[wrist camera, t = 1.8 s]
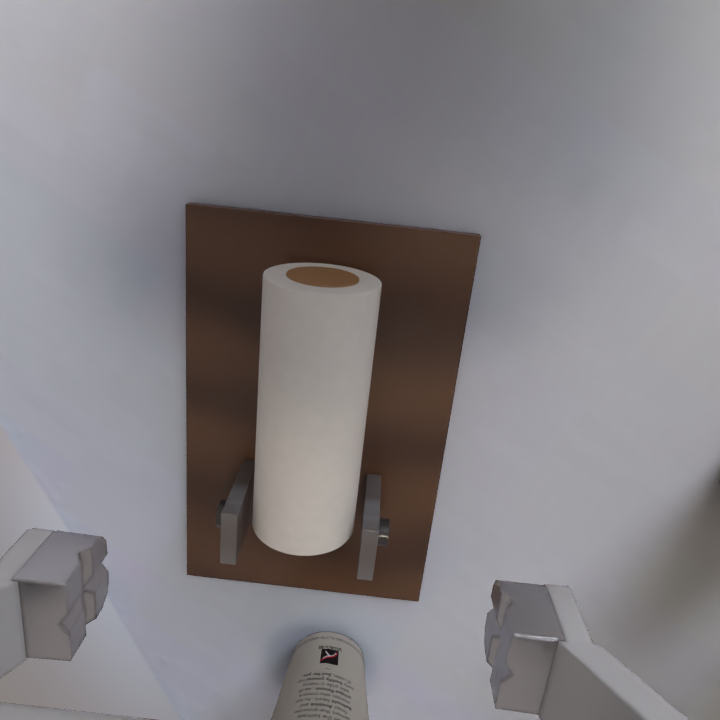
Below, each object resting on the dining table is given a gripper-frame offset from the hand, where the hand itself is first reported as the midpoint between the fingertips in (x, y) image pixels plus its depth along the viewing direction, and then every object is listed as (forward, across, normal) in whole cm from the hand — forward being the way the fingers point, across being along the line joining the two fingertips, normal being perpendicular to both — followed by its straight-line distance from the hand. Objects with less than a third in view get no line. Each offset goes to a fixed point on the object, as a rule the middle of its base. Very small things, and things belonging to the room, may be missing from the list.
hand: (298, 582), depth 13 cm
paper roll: (+17, +1, +10) cm, 20 cm away
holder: (+20, +1, +6) cm, 21 cm away
